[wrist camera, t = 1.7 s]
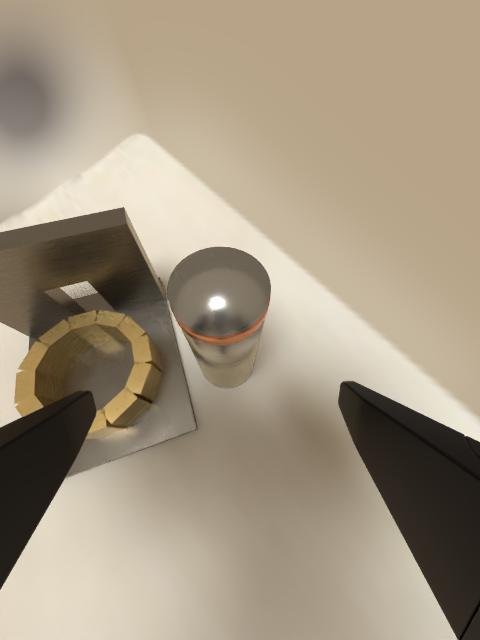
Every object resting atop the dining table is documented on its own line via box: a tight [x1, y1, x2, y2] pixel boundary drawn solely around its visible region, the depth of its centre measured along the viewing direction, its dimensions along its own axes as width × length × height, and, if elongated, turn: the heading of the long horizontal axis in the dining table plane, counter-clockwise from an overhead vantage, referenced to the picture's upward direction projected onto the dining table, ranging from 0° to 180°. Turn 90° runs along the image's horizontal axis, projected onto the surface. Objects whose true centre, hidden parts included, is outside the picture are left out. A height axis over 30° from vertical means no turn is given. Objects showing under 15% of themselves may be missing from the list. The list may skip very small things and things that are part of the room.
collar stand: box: [0, 207, 197, 478], centre depth 16 cm, size 15×12×10 cm
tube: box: [167, 247, 271, 388], centre depth 16 cm, size 5×5×12 cm
